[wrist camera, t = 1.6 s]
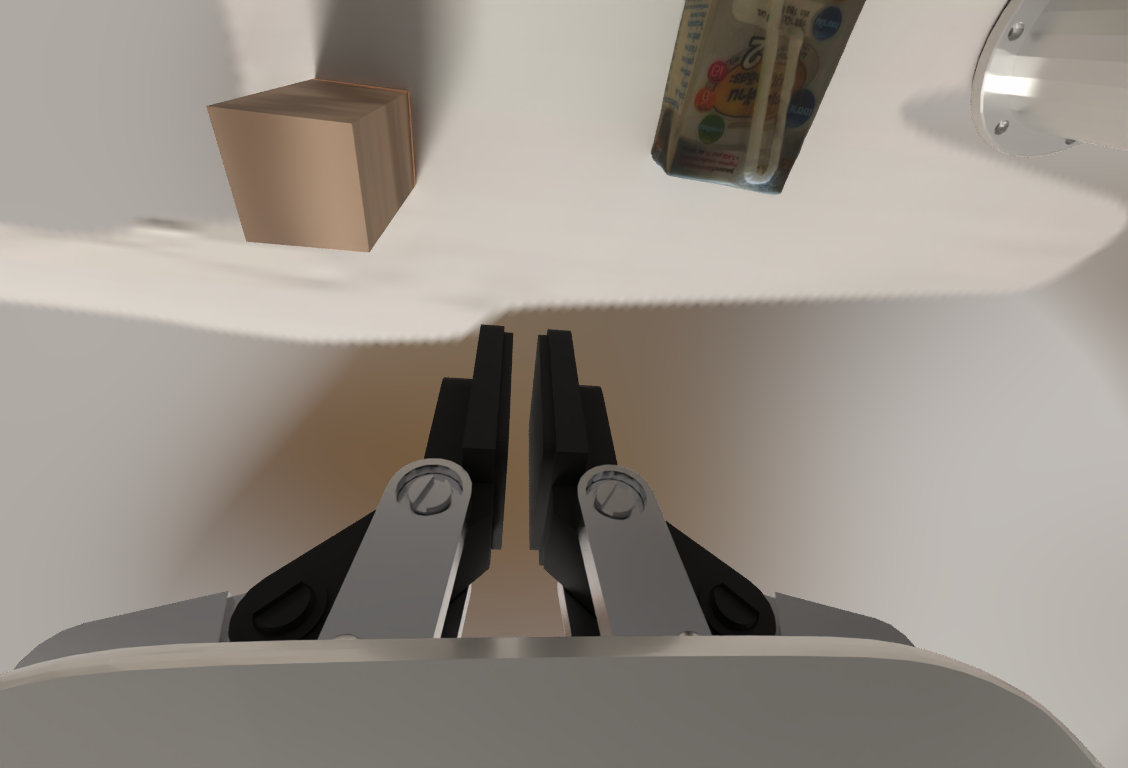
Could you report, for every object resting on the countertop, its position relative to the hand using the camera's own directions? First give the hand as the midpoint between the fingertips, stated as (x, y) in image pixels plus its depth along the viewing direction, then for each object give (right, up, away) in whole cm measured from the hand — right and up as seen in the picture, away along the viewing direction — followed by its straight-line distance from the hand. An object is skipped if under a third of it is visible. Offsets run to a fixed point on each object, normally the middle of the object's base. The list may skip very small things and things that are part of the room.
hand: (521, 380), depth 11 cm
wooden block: (-12, +16, +19) cm, 27 cm away
